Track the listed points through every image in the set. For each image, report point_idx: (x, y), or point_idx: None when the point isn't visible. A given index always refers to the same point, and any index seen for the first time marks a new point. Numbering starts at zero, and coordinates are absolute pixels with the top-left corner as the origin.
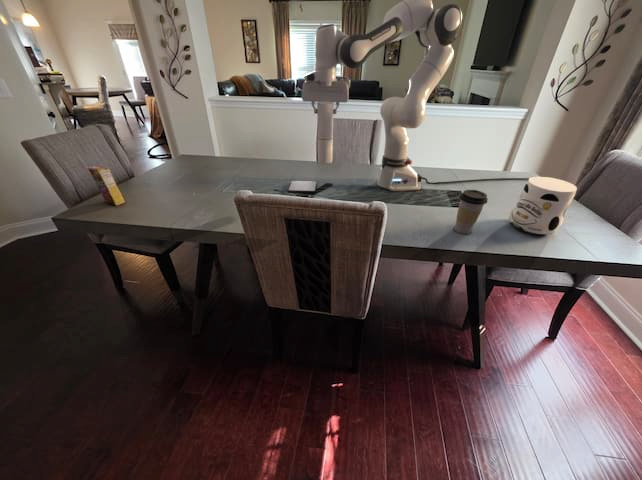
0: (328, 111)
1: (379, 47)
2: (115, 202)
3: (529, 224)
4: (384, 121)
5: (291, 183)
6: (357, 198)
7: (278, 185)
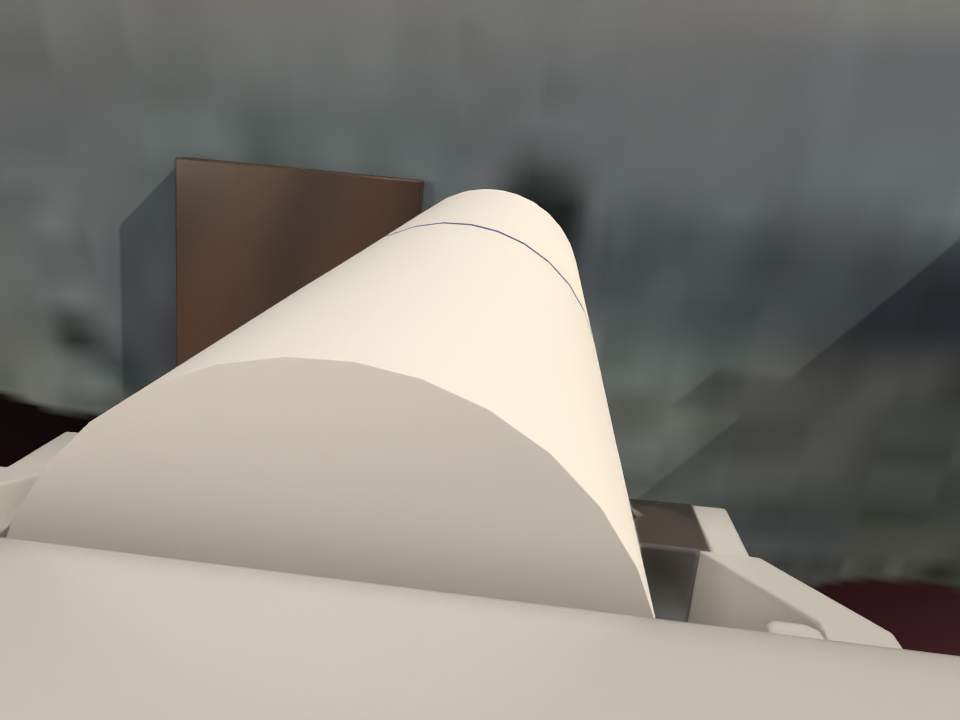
0: None
1: None
2: None
3: None
4: None
5: (181, 235)
6: (763, 525)
7: (70, 220)
